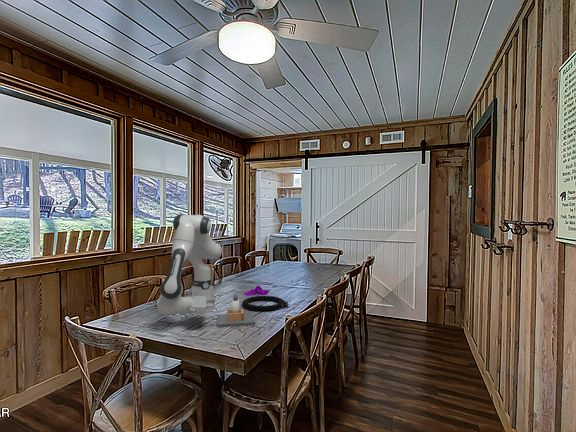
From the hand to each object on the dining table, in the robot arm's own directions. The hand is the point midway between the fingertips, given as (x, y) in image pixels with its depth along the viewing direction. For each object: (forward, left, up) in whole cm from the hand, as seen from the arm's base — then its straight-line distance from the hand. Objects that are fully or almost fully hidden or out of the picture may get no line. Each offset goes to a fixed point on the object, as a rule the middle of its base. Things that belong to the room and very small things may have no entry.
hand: (215, 303), depth 178 cm
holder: (+4, +10, -10) cm, 15 cm away
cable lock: (-12, +39, -11) cm, 42 cm away
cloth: (-42, +52, -11) cm, 68 cm away
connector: (+4, +10, -9) cm, 14 cm away
